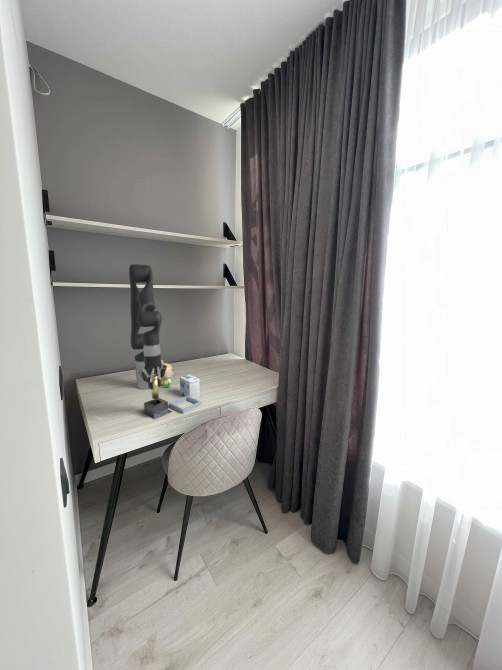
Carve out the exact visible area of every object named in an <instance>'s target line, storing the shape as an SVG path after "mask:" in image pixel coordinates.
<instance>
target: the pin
mask: <svg viewBox="0 0 502 670" xmlns="http://www.w3.org/2000/svg"><path fill="white" fill-rule="evenodd" d="M149 378H150V377H149ZM158 378H159V376H157V375H155V374H154V375H153V378H152V382H153V389H150V391H151V398H152V400H153V399H157V398H160V394H159V393H160V391H159V387H158Z"/></svg>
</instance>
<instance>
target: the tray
mask: <svg viewBox="0 0 502 670" xmlns="http://www.w3.org/2000/svg"><path fill="white" fill-rule="evenodd" d="M185 401H189V402H191V403H193V404H192V405H189V406H187V407H185V408H183V407H180V406H179V404H181V403H183V402H185ZM201 406H202V401H201V400H198V398H195V399H194V398H192V397H190V396H183V397H180V398H179V399H176V400H172V401H171V402H168V408H171V409H173V410H174V411H177V412H179V413H182V414H183V415H185V414H186V413H188V412H190V411H193V410H195V409H197V408H199V407H201Z"/></svg>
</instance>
